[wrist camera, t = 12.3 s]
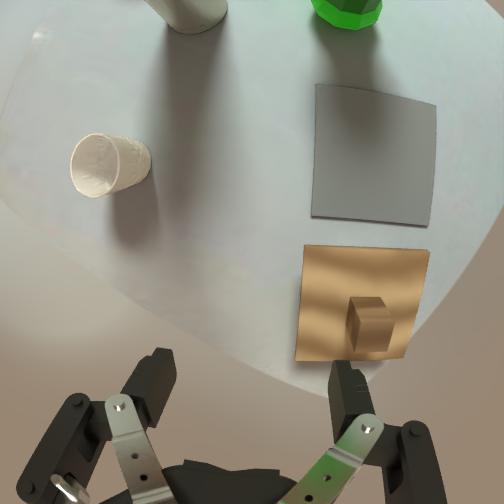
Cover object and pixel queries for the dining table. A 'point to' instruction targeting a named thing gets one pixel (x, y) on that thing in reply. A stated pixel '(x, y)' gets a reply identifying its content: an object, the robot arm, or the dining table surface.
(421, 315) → the dining table surface
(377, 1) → the plastic bottle
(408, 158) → the grey mat
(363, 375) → the robot arm
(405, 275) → the oak lid
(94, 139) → the white cup
